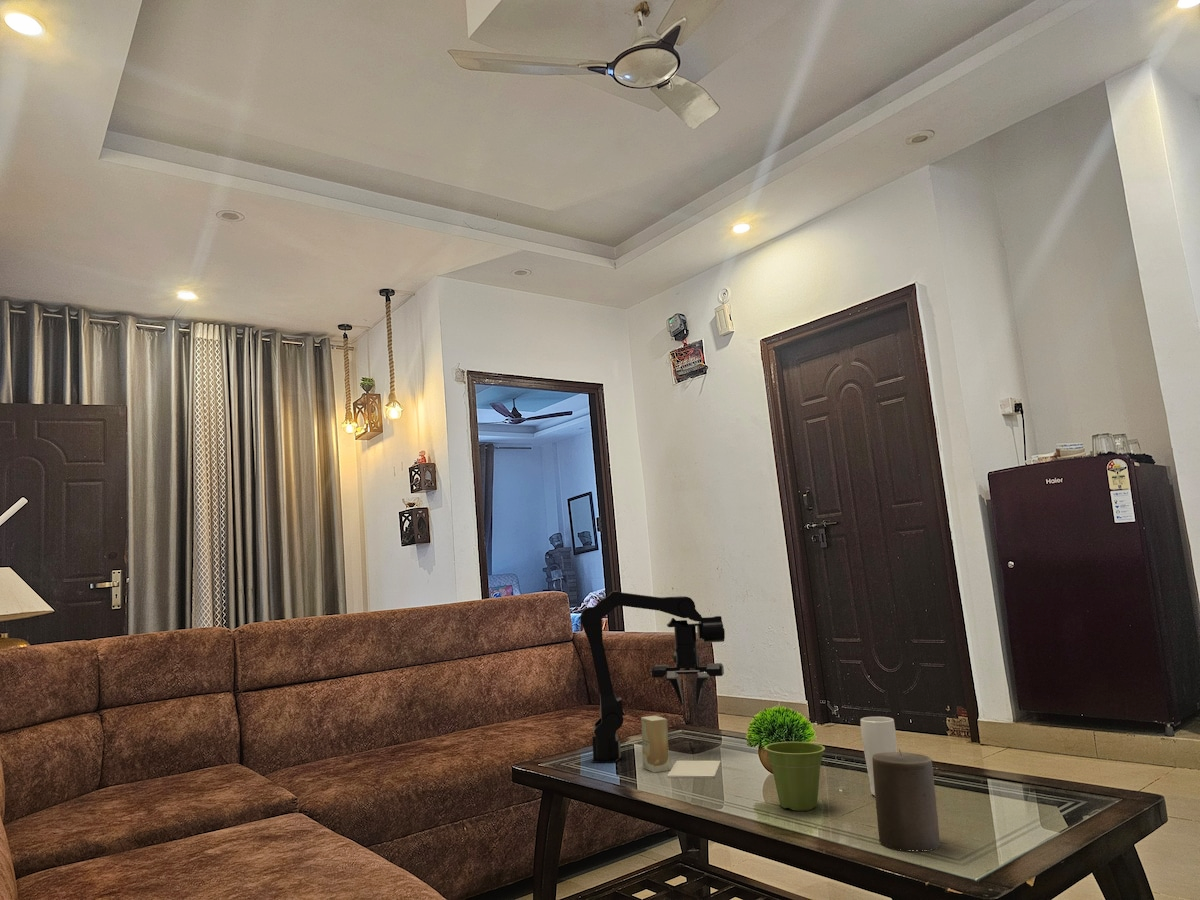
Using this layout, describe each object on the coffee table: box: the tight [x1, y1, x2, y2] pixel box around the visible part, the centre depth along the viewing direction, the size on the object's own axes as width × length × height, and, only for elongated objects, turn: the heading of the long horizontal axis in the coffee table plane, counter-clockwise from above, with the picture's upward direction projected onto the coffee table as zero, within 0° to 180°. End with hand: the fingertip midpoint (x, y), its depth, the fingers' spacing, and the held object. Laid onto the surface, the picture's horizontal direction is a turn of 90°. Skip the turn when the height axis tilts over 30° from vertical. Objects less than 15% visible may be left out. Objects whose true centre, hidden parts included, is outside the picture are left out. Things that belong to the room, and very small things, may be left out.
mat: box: [666, 760, 722, 779], centre depth 192 cm, size 11×16×1 cm
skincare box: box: [640, 715, 670, 773], centre depth 196 cm, size 6×4×12 cm
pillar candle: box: [872, 748, 941, 851], centre depth 134 cm, size 10×10×15 cm
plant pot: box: [764, 741, 826, 812], centre depth 158 cm, size 12×12×11 cm
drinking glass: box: [859, 716, 898, 796], centre depth 163 cm, size 7×7×15 cm
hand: (689, 704), depth 211 cm, fingers open, 4 cm apart
